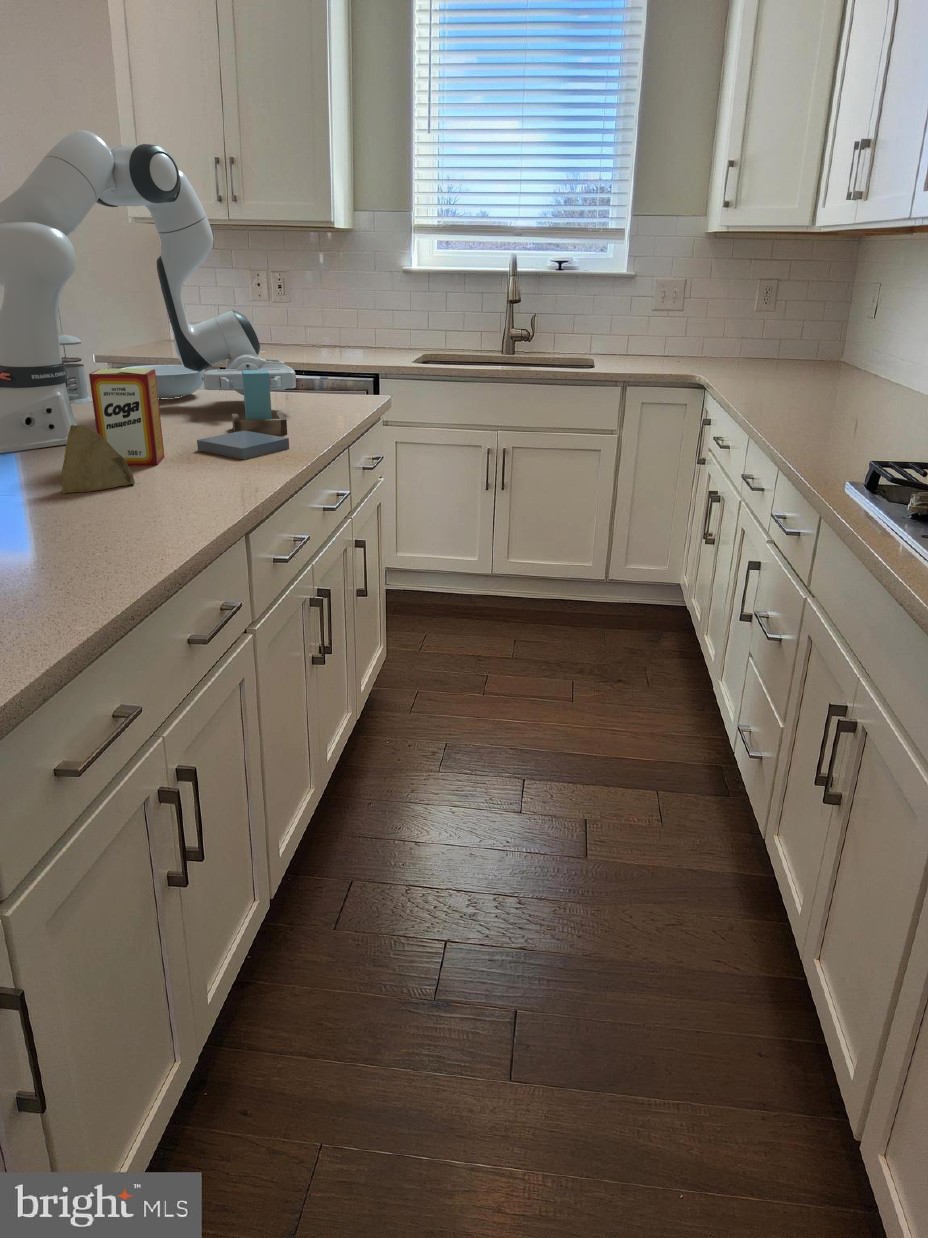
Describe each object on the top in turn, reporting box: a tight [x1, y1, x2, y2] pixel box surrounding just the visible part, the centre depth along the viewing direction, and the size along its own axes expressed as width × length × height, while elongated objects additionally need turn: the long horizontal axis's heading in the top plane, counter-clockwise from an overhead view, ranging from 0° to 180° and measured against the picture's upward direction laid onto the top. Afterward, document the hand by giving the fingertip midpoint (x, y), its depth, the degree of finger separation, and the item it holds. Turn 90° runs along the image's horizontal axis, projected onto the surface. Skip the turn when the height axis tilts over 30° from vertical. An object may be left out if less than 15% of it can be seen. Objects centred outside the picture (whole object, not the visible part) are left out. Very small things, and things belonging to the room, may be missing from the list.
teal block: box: [242, 370, 273, 420], centre depth 187 cm, size 5×5×12 cm
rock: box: [61, 424, 136, 495], centre depth 143 cm, size 11×9×10 cm
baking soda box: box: [88, 367, 165, 467], centre depth 159 cm, size 10×6×16 cm
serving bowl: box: [120, 364, 206, 399], centre depth 225 cm, size 21×21×7 cm
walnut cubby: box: [231, 411, 288, 436], centre depth 188 cm, size 10×9×3 cm
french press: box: [58, 306, 93, 405], centre depth 214 cm, size 10×12×25 cm
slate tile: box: [196, 430, 290, 460], centre depth 172 cm, size 12×12×2 cm
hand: (252, 384), depth 198 cm, fingers open, 8 cm apart
